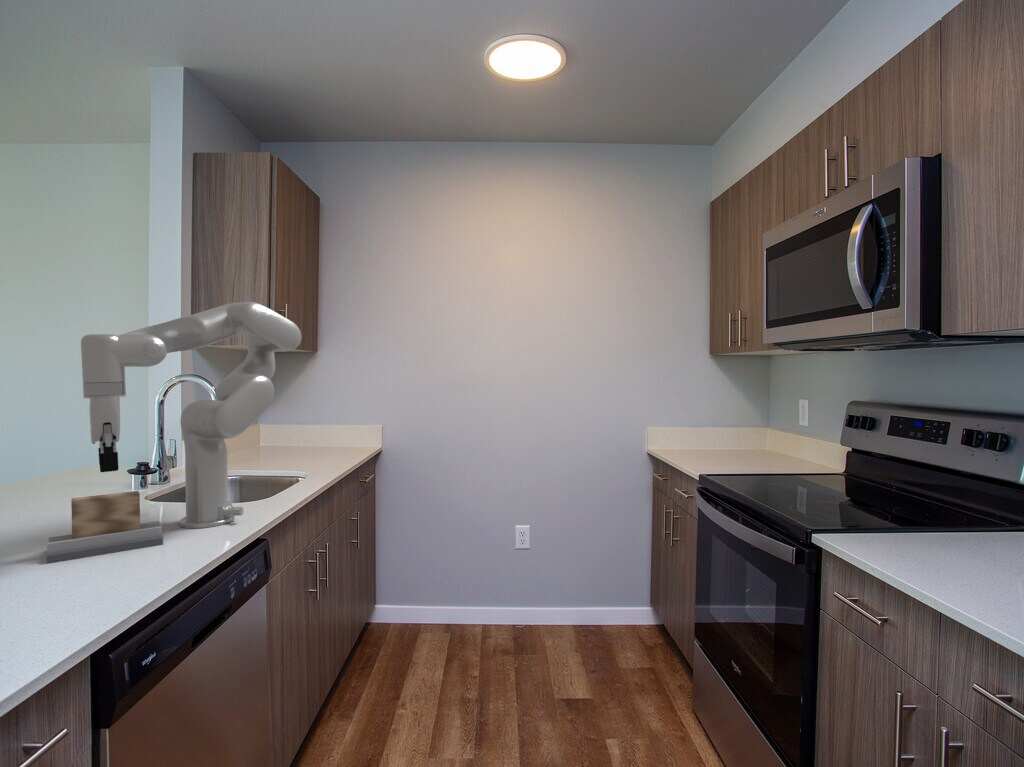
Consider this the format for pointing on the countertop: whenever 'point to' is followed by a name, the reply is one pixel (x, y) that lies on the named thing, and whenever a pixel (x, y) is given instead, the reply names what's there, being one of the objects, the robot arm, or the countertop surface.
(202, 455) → the robot arm
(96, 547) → the bottom track
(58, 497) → the countertop surface
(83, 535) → the door panel
